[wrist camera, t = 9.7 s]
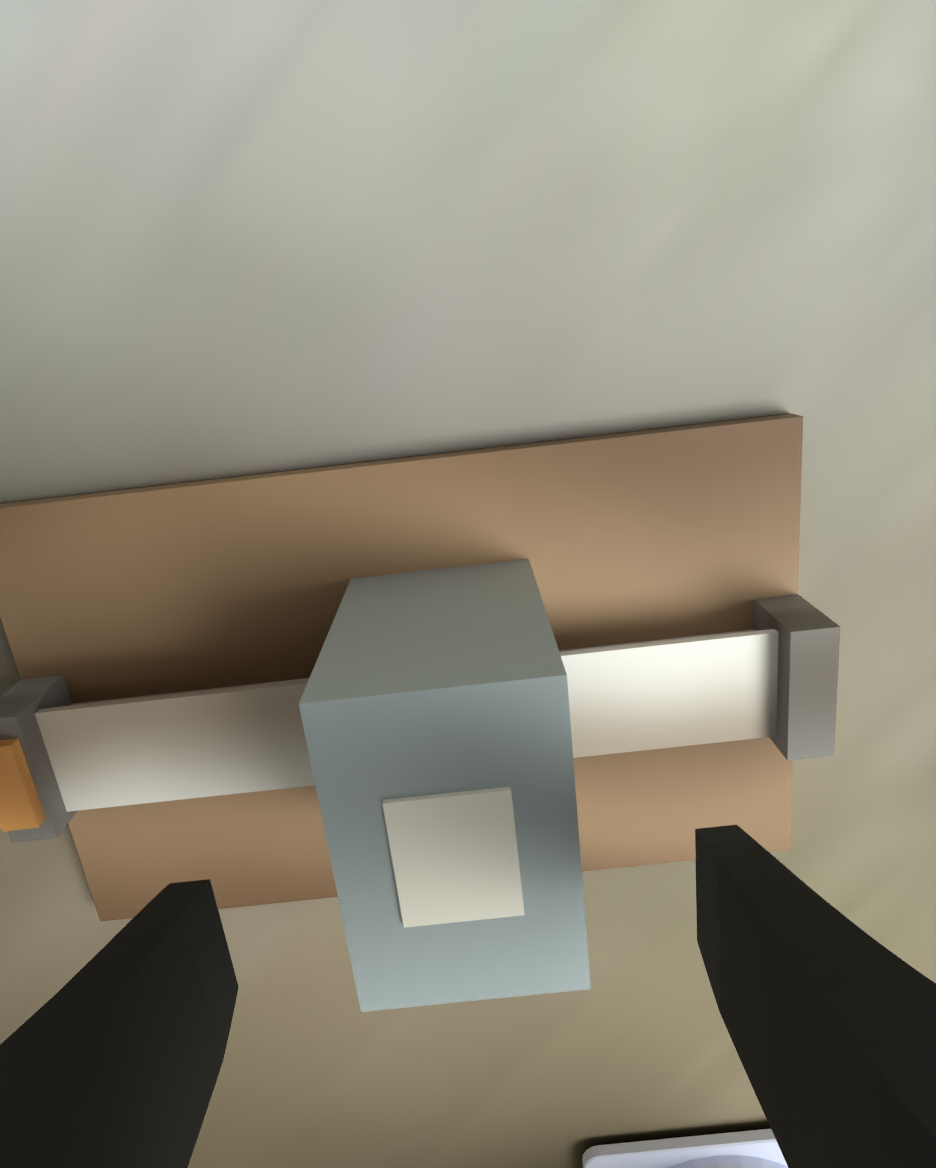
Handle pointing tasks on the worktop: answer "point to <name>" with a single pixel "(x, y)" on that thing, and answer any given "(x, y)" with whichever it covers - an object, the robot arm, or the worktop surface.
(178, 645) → the rail mount
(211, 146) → the worktop surface
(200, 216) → the worktop surface
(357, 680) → the block
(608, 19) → the worktop surface
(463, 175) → the worktop surface
